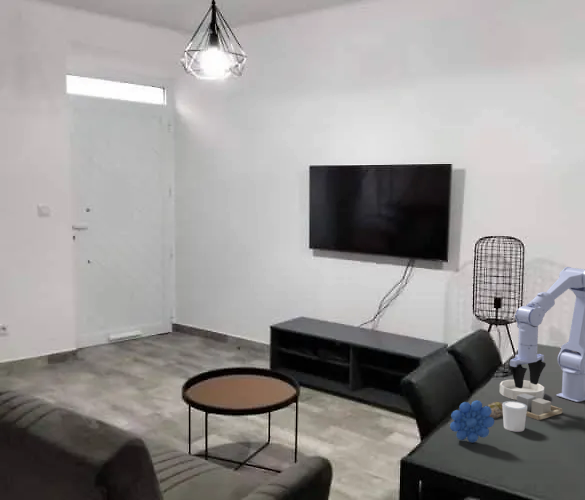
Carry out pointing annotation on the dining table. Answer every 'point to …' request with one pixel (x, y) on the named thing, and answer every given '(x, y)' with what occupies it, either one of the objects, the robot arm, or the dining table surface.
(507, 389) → the bowl
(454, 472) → the dining table surface
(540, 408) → the beige grey cube
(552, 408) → the parts frame
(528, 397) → the matte grey cube
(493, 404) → the mineral rock
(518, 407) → the white cup
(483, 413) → the blue knobbed flower
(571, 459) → the dining table surface
